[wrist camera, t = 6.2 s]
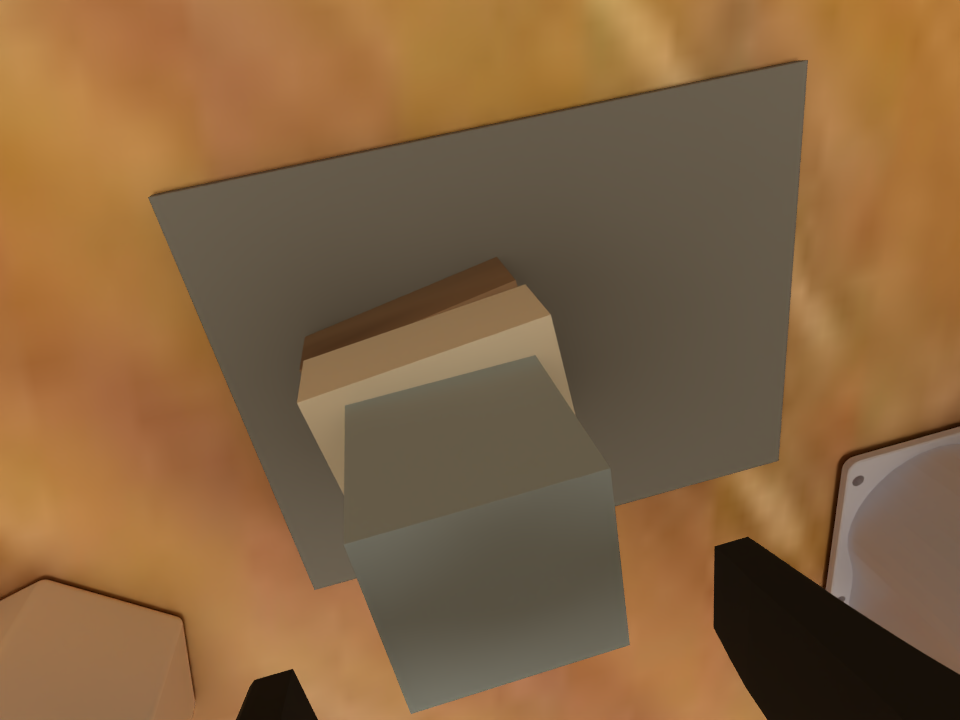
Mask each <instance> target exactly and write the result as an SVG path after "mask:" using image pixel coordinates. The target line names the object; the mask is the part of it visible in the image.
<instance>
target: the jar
mask: <svg viewBox="0 0 960 720" xmlns="http://www.w3.org/2000/svg"><path fill="white" fill-rule="evenodd" d="M194 708H195V697H194V691H193V684H192V678H191V672H190V665H189V659H188V652H187V646H186V640H185V633H184V627H183V622H182V620H181V618H179V617H177V616H174V615H170V614H167V613H163V612H160V611H156V610H153V609H149V608H146V607H142V606H139V605H135V604H132V603H128V602H125V601H121V600H118V599H114V598H111V597H107V596H104V595H100V594H97V593H93V592H90V591H86V590H83V589H79V588H76V587H72V586H69V585H65V584H62V583H58V582H55V581H51V580H46V579H45V580H40V581H38V582H36V583H34V584H32V585H30V586H28V587H26V588H24V589H22V590H20V591H18V592H16V593H14V594H12V595H10V596H8V597H6V598H5V599H3V600H1V601H0V720H192V716H193V712H194Z"/></svg>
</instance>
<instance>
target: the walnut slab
mask: <svg viewBox="0 0 960 720" xmlns="http://www.w3.org/2000/svg"><path fill="white" fill-rule="evenodd" d="M516 287H518V286H517V283H516V280H515V279H514V278H513V276H512V275H511V274H510V273H509V271H508V270H507V269H506V268H505V266H504V265H503V264H502V263H501V261H500V260H499V259H498V258H497V257H495V258H493V259H490V260H488V261H485V262H483V263H481V264H478V265H476V266H474V267H471V268H469V269H466V270H464V271H462V272H459V273H457V274H454V275H452V276H450V277H447V278H445V279H442V280H440V281H438V282H435V283H433V284H430V285H428V286H426V287H423V288H421V289H418V290H416V291H414V292H411V293H409V294H407V295H404V296H402V297H399V298H397V299H395V300H392V301H390V302H387V303H385V304H383V305H380V306H378V307H375V308H373V309H371V310H368V311H366V312H363V313H361V314H359V315H356V316H354V317H351V318H349V319H347V320H344V321H342V322H340V323H337V324H335V325H332V326H330V327H328V328H325V329H323V330H320V331H318V332H316V333H313V334H311V335H308V336H306V337H305V339H304V345H303V351H302V357H301V363H300V369H299V371H300V373H302V367H303V361H304V360H307V359H310V358H313V357H316V356H319V355H322V354H325V353H328V352H330V351H333V350H336V349H339V348H342V347H345V346H348V345H351V344H354V343H357V342H359V341H362V340H365V339H368V338H371V337H374V336H377V335H380V334H383V333H386V332H388V331H391V330H394V329H397V328H400V327H403V326H406V325H409V324H412V323H414V322H417V321H420V320H423V319H426V318H429V317H432V316H435V315H438V314H441V313H443V312H446V311H449V310H452V309H455V308H458V307H461V306H464V305H467V304H470V303H472V302H475V301H478V300H481V299H484V298H487V297H490V296H493V295H496V294H498V293H501V292H504V291H507V290H510V289H513V288H516Z"/></svg>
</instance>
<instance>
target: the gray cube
mask: <svg viewBox="0 0 960 720" xmlns="http://www.w3.org/2000/svg"><path fill="white" fill-rule="evenodd" d="M344 547H345V549H346V552H347V555H348V557H349V560H350V562H351V565H352V567H353V570H354V572H355V575H356V577H357V580H358V582H359V585H360V587H361V590H362V592H363V595H364V597H365V600H366V602H367V605H368V607H369V610H370V612H371V615H372V617H373V620H374V622H375V625H376V627H377V630H378V632H379V635H380V637H381V640H382V642H383V645H384V647H385V650H386V652H387V655H388V657H389V660H390V662H391V665H392V667H393V670H394V672H395V675H396V677H397V680H398V683H399V685H400V688H401V690H402V693H403V695H404V698H405V700H406V703H407V705H408V708H409V710H410V713H411V714H412V713H415V712H419V711H422V710H425V709H428V708H431V707H434V706H438V705H441V704H444V703H447V702H450V701H454V700H457V699H460V698H463V697H466V696H469V695H473V694H476V693H479V692H482V691H485V690H488V689H492V688H495V687H498V686H501V685H504V684H507V683H511V682H514V681H517V680H520V679H523V678H526V677H530V676H533V675H536V674H539V673H542V672H545V671H549V670H552V669H555V668H558V667H561V666H564V665H568V664H571V663H574V662H577V661H580V660H584V659H587V658H590V657H593V656H596V655H599V654H603V653H606V652H609V651H612V650H615V649H618V648H622V647H625V646H628V645H630V643H629V634H628V625H627V615H626V606H625V597H624V588H623V579H622V570H621V560H620V551H619V542H618V533H617V524H616V514H615V505H614V496H613V487H612V478H611V468H610V467H609V465H608V464H607V462H606V461H605V459H604V458H603V456H602V455H601V453H600V452H599V450H598V449H597V447H596V446H595V444H594V443H593V441H592V440H591V438H590V437H589V435H588V434H587V432H586V431H585V429H584V428H583V426H582V425H581V423H580V422H579V420H578V419H577V417H576V416H575V414H574V413H573V411H572V410H571V408H570V407H569V405H568V404H567V402H566V401H565V399H564V398H563V396H562V394H561V393H560V391H559V390H558V388H557V387H556V385H555V384H554V382H553V381H552V379H551V378H550V376H549V375H548V373H547V372H546V370H545V369H544V367H543V366H542V364H541V363H540V361H539V360H538V358H537V357H536V355H534V356H530V357H527V358H523V359H519V360H515V361H511V362H508V363H504V364H500V365H496V366H493V367H489V368H485V369H481V370H477V371H474V372H470V373H466V374H462V375H458V376H455V377H451V378H447V379H443V380H440V381H436V382H432V383H428V384H424V385H421V386H417V387H413V388H409V389H406V390H402V391H398V392H394V393H390V394H387V395H383V396H379V397H375V398H372V399H368V400H364V401H360V402H356V403H353V404H349V405H345V451H344Z"/></svg>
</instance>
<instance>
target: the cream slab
mask: <svg viewBox="0 0 960 720" xmlns="http://www.w3.org/2000/svg"><path fill="white" fill-rule="evenodd" d="M534 355H536V357H537V358H538V360H539V361H540V363H541V364H542V366H543V367H544V369H545V370H546V372H547V373H548V375H549V376H550V378H551V379H552V381H553V382H554V384H555V385H556V387H557V388H558V390H559V391H560V393H561V394H562V396H563V398H564V399H565V401H566V402H567V404H568V405H569V407H570V408H571V410H572V411H573V413H574V414H575V411H574V407H573V403H572V399H571V395H570V391H569V387H568V383H567V378H566V374H565V370H564V366H563V362H562V358H561V354H560V350H559V346H558V342H557V338H556V334H555V330H554V326H553V322H552V318H551V314H550V313H549V312H548V311H547V309H546V308H545V307H544V306H543V305H542V304H541V302H540V301H539V300H538V299H537V298H536V296H535V295H534V294H533V293H532V292H531V290H530V289H529V288H528V287H527V286H526V284H525V285H522V286H519V287H516V288H513V289H510V290H507V291H504V292H501V293H498V294H496V295H493V296H490V297H487V298H484V299H481V300H478V301H475V302H472V303H470V304H467V305H464V306H461V307H458V308H455V309H452V310H449V311H446V312H443V313H441V314H438V315H435V316H432V317H429V318H426V319H423V320H420V321H417V322H414V323H412V324H409V325H406V326H403V327H400V328H397V329H394V330H391V331H388V332H386V333H383V334H380V335H377V336H374V337H371V338H368V339H365V340H362V341H359V342H357V343H354V344H351V345H348V346H345V347H342V348H339V349H336V350H333V351H330V352H328V353H325V354H322V355H319V356H316V357H313V358H310V359H307V360H304V361H303V367H302V373H301V380H300V386H299V392H298V399H297V404H298V406H299V408H300V410H301V412H302V414H303V416H304V418H305V420H306V422H307V424H308V426H309V428H310V430H311V432H312V434H313V436H314V438H315V440H316V442H317V444H318V446H319V447H320V449H321V451H322V453H323V455H324V457H325V459H326V461H327V463H328V465H329V467H330V469H331V471H332V473H333V475H334V477H335V479H336V481H337V483H338V485H339V487H340V489H341V491H342V493H343V494H344V451H345V405H349V404H353V403H356V402H360V401H364V400H368V399H372V398H375V397H379V396H383V395H387V394H390V393H394V392H398V391H402V390H406V389H409V388H413V387H417V386H421V385H424V384H428V383H432V382H436V381H440V380H443V379H447V378H451V377H455V376H458V375H462V374H466V373H470V372H474V371H477V370H481V369H485V368H489V367H493V366H496V365H500V364H504V363H508V362H511V361H515V360H519V359H523V358H527V357H530V356H534ZM575 416H576V415H575Z"/></svg>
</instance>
